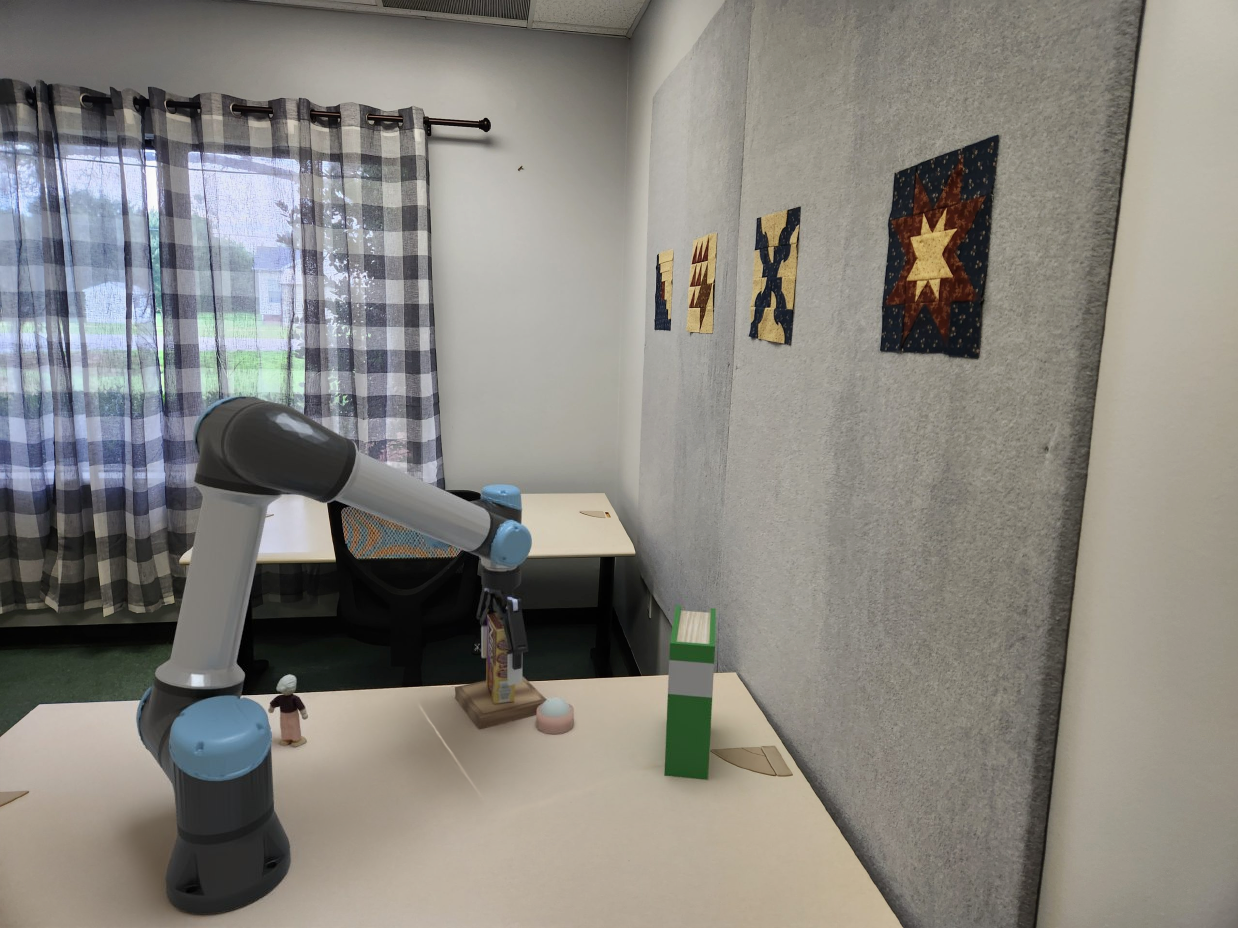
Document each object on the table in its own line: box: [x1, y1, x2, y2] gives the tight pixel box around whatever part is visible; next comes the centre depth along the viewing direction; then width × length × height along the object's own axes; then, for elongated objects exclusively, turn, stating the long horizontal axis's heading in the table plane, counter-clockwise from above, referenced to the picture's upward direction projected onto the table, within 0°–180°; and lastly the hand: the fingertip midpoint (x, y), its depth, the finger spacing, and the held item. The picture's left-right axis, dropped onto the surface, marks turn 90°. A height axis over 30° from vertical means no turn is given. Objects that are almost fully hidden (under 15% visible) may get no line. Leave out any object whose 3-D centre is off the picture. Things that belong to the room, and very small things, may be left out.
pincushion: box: [535, 696, 575, 735], centre depth 144 cm, size 7×7×6 cm
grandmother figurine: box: [267, 674, 309, 748], centre depth 137 cm, size 8×4×13 cm, turn 89°
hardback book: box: [664, 605, 717, 781], centre depth 137 cm, size 18×7×24 cm, turn 173°
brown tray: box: [454, 675, 548, 730], centre depth 152 cm, size 14×14×3 cm
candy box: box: [485, 613, 515, 704], centre depth 150 cm, size 9×4×15 cm, turn 20°
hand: (501, 669), depth 151 cm, fingers open, 13 cm apart
